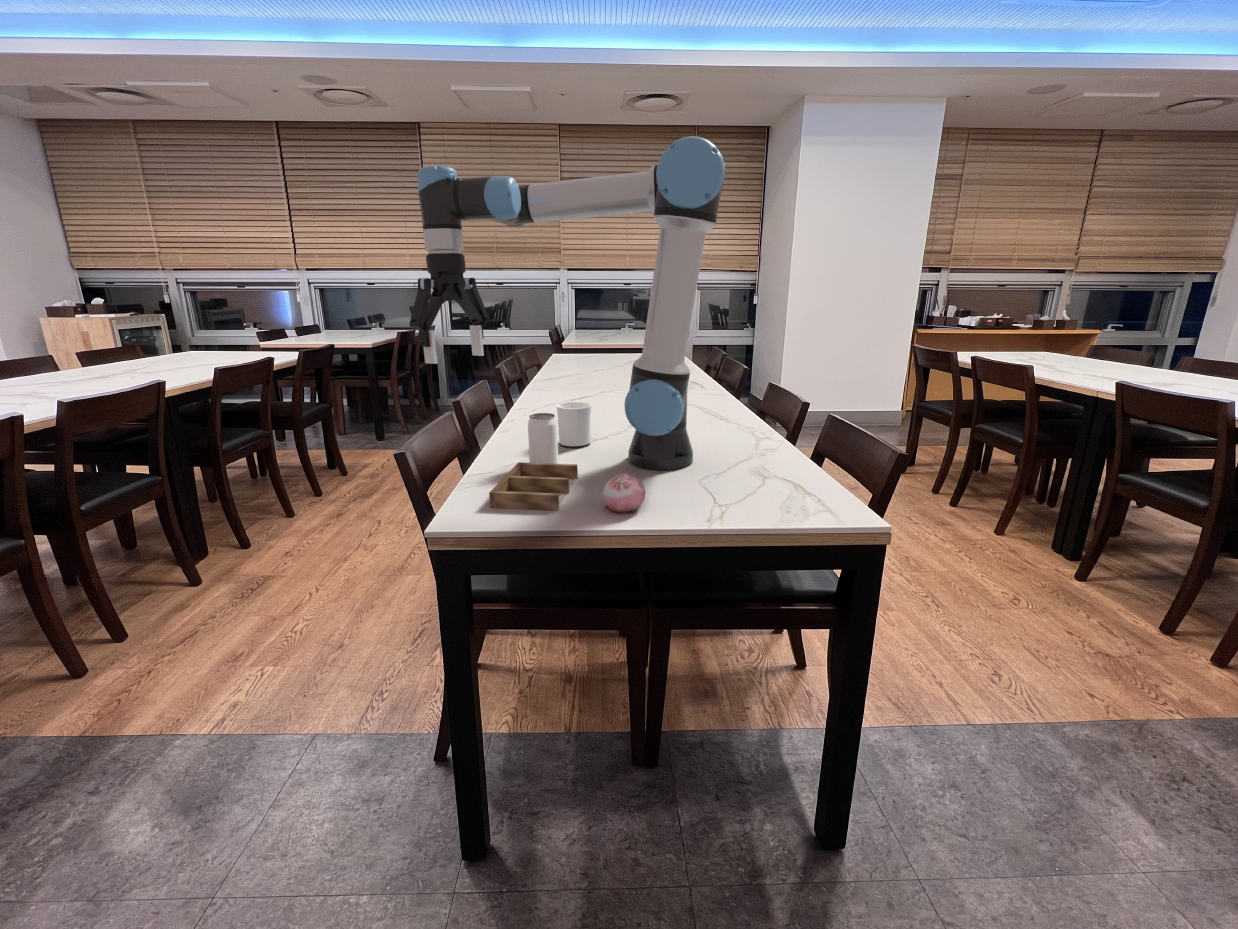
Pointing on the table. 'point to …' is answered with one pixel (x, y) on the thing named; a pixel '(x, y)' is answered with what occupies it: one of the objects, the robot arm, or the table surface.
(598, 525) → the table surface
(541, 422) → the can
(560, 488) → the comb rack
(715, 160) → the robot arm
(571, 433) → the mug
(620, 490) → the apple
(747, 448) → the table surface
